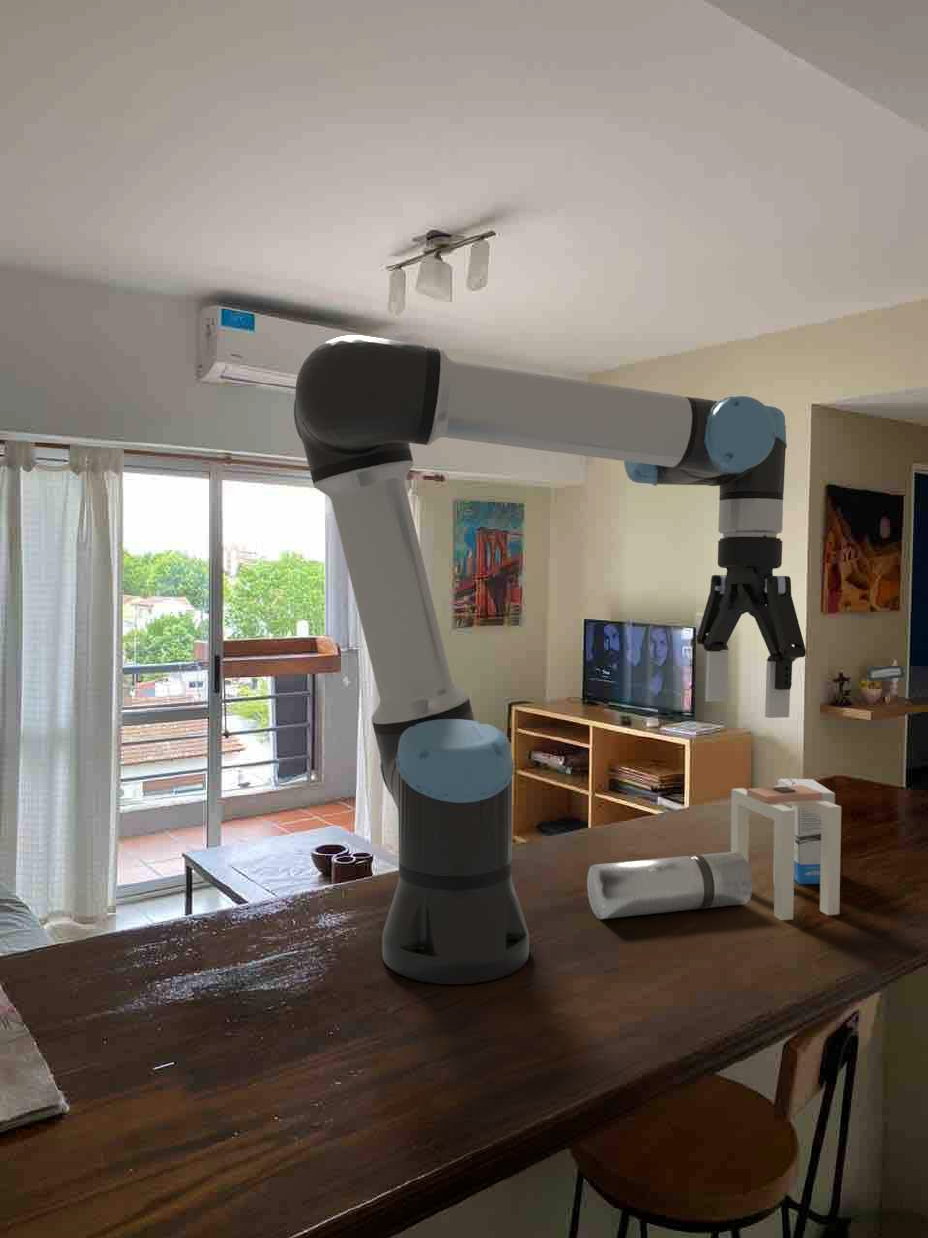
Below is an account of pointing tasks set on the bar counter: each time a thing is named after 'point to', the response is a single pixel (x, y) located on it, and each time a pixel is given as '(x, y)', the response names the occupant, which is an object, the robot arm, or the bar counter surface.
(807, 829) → the ink box
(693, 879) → the silver metal cylinder
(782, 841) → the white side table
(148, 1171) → the bar counter surface
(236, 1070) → the bar counter surface
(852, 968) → the bar counter surface
